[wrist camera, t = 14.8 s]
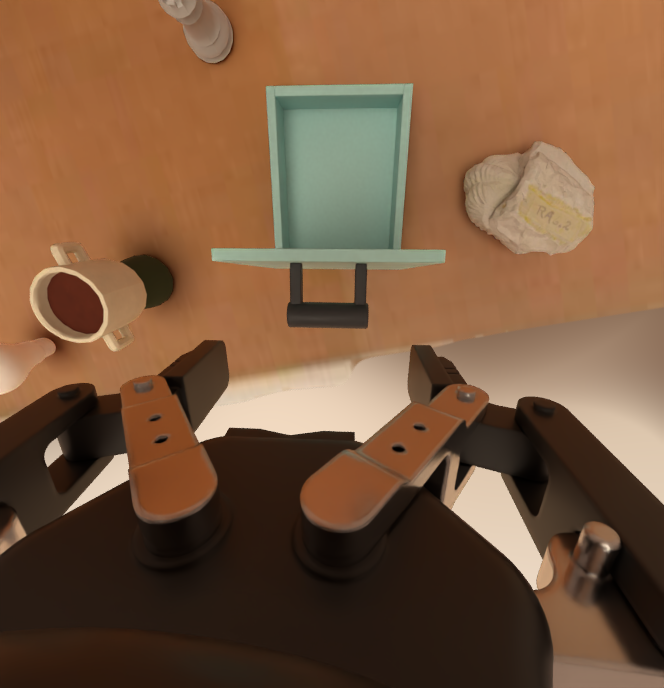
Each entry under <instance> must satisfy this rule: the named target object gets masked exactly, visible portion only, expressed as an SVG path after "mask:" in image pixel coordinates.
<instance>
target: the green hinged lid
mask: <svg viewBox="0 0 664 688" xmlns="http://www.w3.org/2000/svg"><path fill="white" fill-rule="evenodd" d="M211 253H212V261H218V262H226V263H235V264H243V265H251V266H259V267H268V268H278V269H290V302H289V303H288V307H287V323H288V326H289V327H306V328H360V329H366V328H367V327H368V304H367V303H366V284H367V269H379V270H401V269H407V268H414V267H420V266H427V265H433V264H440V263H445V254H446V250H415V249H271V248H212V249H211ZM302 269H355V299H354V303H323V302H303V270H302Z"/></svg>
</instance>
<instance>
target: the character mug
mask: <svg viewBox="0 0 664 688" xmlns="http://www.w3.org/2000/svg"><path fill="white" fill-rule="evenodd" d="M50 249H51V253H52V254H53V256H54V258H55V259H56V261H57V263H58V264H59V266H54V267H49V268H46V269H44V270H43V271H42V272H40V273H39V274H38V275H36V276H35V278H34V280H33V282H32V285H31V287H30V303H31V306H32V309H33V312H34V313H35V315H36V317H37V319H38V320H39V321H40V322H41V324H42V325H43V326H44V327H45V328H47V329H48V330H49V331H50V332H51V333H53V334H55V335H56V336H58V337H60V338H62V339H64V340H68V341H72V342H75V343H84V342H92V341H95V340H97V339H99V338H101V337H103V339H104V341H105V342H106V344H107V346H108V347H109V348H110V349H111V350H112V351H119V350H121V349H123V348H124V347H126V346H128V345H129V344H131V343H132V342H133V341H134V339H135V338H134V335H133V333H132V332H131V330H130V328H129V326H128V324H129V323H131V322H133V321H134V320H136V319H137V318H138V317H139V316H140V314H141V313H142V311H143V310H144V309H146V308H151V307H155V306H158V305H160V304H162V303H164V302H165V301H167V300H168V299H169V297H170V295H171V293H172V291H173V278H172V276H171V274H170V272H169V270H168V268H167V267H166V266H165V265H164V264H163V263H161V262H160V261H159V260H158V259H156V258H153V257H150V256H147V255H139V256H133V257H130V258H127V259H125V260H123V261H121V262H117V261H113V260H109V259H105V258H103V259H95V260H91V259H90V257H89V256H88V254H87V252H86V250H85V249H84V247H83V246H82V245H81V243H77V242H66V243H56V244H53V245H52V246H51V248H50ZM67 253H74V254H75V256H76V258H77V259H78V261H79V262H76V263H72V262H71V260H70V259H69V257H68V255H67ZM116 330H119V332H120V333H121V335H122V337H123V338H121V339H119V340H117V339H116V337H115V335H114V333H113V331H116Z"/></svg>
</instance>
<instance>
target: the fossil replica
mask: <svg viewBox="0 0 664 688" xmlns="http://www.w3.org/2000/svg"><path fill="white" fill-rule="evenodd" d="M463 182H464V188H463V189H464V192H466V193H465V196H466V201H465V206H466V212H467V213H468V216H469V218H470V219H471V222H472V223H475V226H476V227H478V226H479V227H480V229H481V230H485V231H487V234H492V235H494V237H495V239H498V240H500V241H501V243H502V244H503V245H505V246H506V247H507V248H508V249H510V250H511V251H512V252H514V253H516V254H525V253H529V252H531V251H535V252H546V253H548V254H549V255H552V254H556V253H566V252H569V251H571V250H573V249H574V248H575V247H576V246H577V245H578V243H580V242H581V241H582V240H583V239H584V238H585V237H587V236H588V234H589V233H590V232H591V230H592V228H593V212H594V197H593V192H594V189H595V187H594V186H593V185H592V183H591V182H590V180H589V178H588V177H587V175H585V174H584V173H583V172H582V171H581V170H580V169H579V168H578V167H577V166H576V165H575V164H574V163H573V161H572V159H571V158H570V157H569V156H568V155H567V154H566V152H563V151H562V149H561V148H556V147H554V146H553V145H551V144H547V143H543V142H542V141H538V142H534V143H533V144H532V146H531V147H530V148H529V149H528V150H527V151H526V152H525V153H523V154H520V153H513V154H508V155H492V156H489V157H487V158H485V159H484V160H483V162H482V163H479V164H477V165H474V167H472V168H471V169H469V170H468V171H467V173H466V175H465V179H464V181H463Z"/></svg>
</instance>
